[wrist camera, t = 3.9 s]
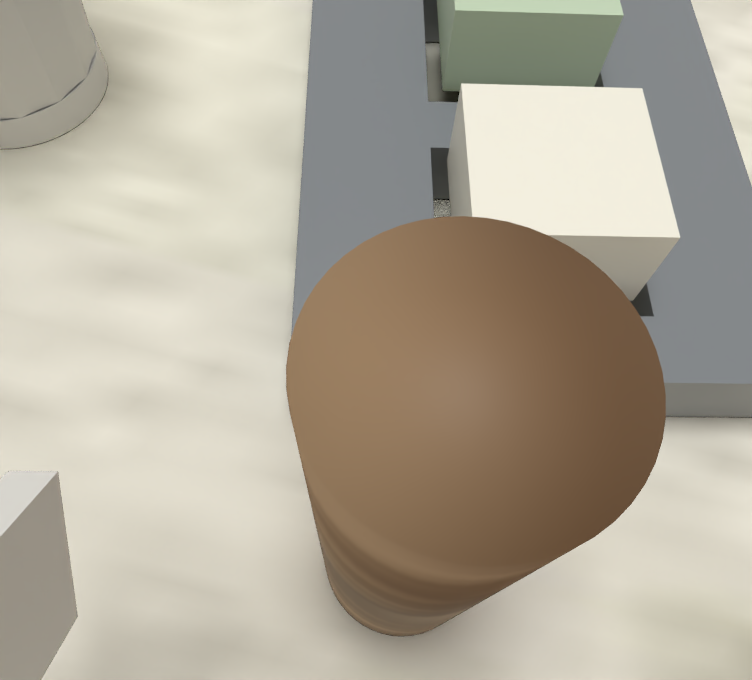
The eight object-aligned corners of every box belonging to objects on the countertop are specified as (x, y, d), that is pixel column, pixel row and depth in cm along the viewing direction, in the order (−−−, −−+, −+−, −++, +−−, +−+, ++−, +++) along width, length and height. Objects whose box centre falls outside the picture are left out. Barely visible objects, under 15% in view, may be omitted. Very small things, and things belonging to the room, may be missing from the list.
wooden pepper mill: (322, 636, 17) (272, 564, 6) (327, 479, 19) (296, 212, 8) (480, 636, 17) (704, 566, 6) (469, 481, 19) (629, 219, 8)
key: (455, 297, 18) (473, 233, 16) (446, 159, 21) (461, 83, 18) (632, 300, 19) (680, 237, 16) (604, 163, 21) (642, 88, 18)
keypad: (295, 412, 19) (288, 377, 17) (325, -107, 31) (323, -168, 29) (764, 417, 20) (816, 384, 18) (618, -97, 32) (639, -155, 29)
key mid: (442, 90, 22) (455, 10, 19) (436, -8, 24) (446, -92, 22) (590, 94, 22) (623, 15, 20) (571, -3, 24) (597, -87, 22)
